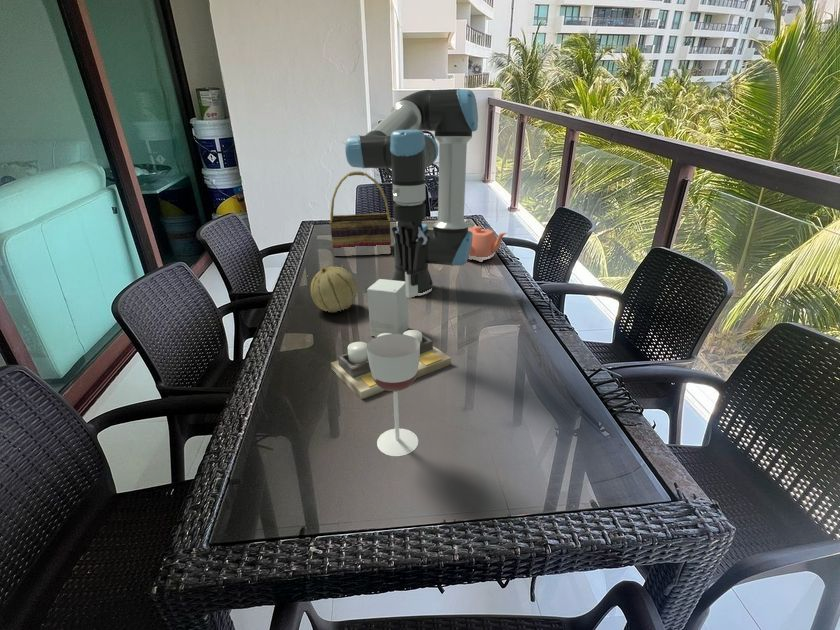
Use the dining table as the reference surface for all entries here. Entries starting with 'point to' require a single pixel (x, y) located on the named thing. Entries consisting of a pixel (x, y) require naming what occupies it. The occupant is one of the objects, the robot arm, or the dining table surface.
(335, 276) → the cantaloupe
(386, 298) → the supplement box
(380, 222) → the basket
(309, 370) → the dining table surface
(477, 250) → the teapot
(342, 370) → the board
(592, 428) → the dining table surface
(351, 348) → the button
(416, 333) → the button
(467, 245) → the robot arm
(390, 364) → the wineglass
